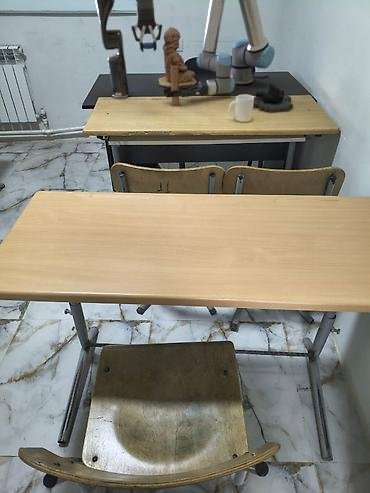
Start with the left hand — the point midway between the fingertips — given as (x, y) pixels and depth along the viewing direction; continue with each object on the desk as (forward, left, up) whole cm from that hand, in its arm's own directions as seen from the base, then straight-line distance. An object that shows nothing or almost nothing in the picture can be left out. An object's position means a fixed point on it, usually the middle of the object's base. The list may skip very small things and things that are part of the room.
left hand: (148, 51), depth 163 cm
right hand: (-10, +11, -23) cm, 28 cm away
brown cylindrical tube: (-10, +16, -29) cm, 35 cm away
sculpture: (-45, +34, -29) cm, 64 cm away
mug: (+27, +34, -29) cm, 52 cm away
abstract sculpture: (+18, +59, -29) cm, 68 cm away
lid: (0, 0, +3) cm, 3 cm away
